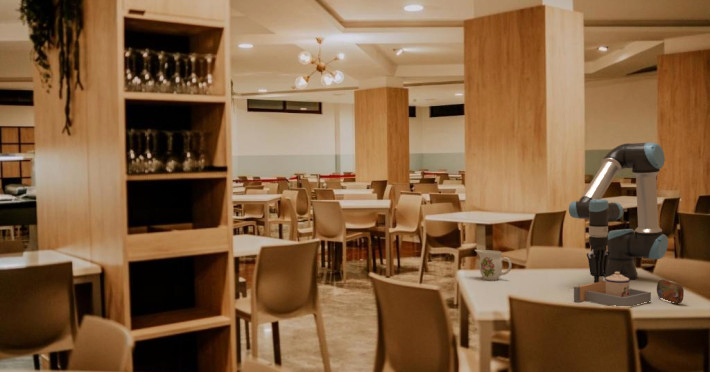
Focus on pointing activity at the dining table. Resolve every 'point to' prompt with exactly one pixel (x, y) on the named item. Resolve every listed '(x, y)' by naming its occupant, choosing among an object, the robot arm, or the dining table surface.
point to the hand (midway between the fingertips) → (598, 291)
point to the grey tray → (615, 297)
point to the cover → (592, 289)
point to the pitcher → (492, 264)
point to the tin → (670, 291)
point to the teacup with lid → (617, 285)
